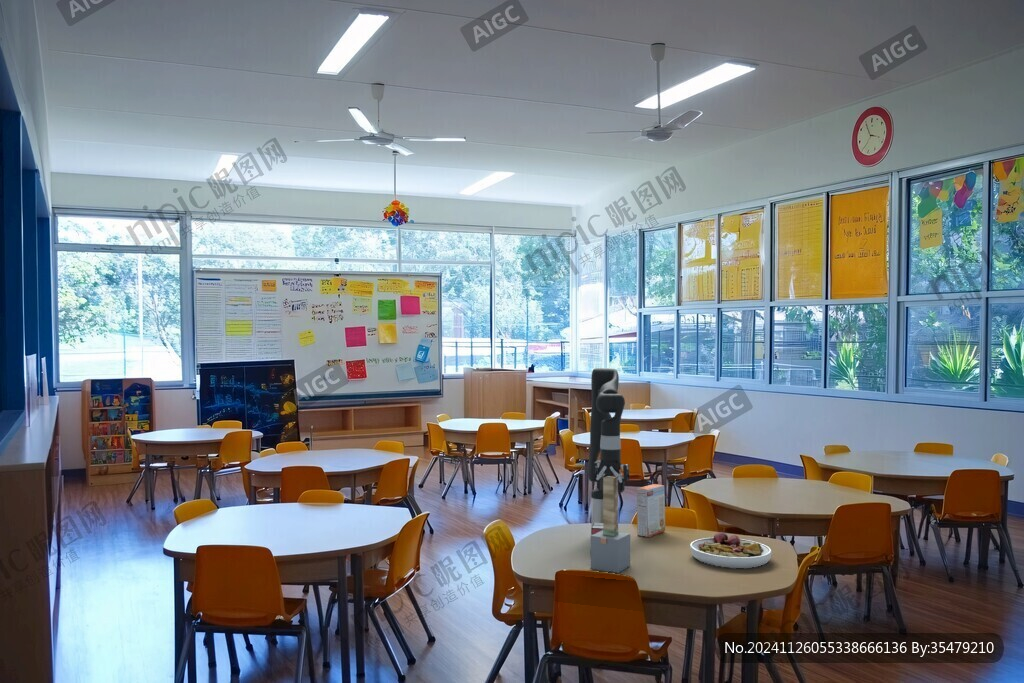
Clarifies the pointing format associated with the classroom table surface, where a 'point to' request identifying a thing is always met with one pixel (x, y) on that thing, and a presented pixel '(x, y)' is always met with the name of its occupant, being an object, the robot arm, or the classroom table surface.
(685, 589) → the classroom table surface
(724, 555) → the plate of food
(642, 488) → the cracker box
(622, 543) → the grey box
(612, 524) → the post
